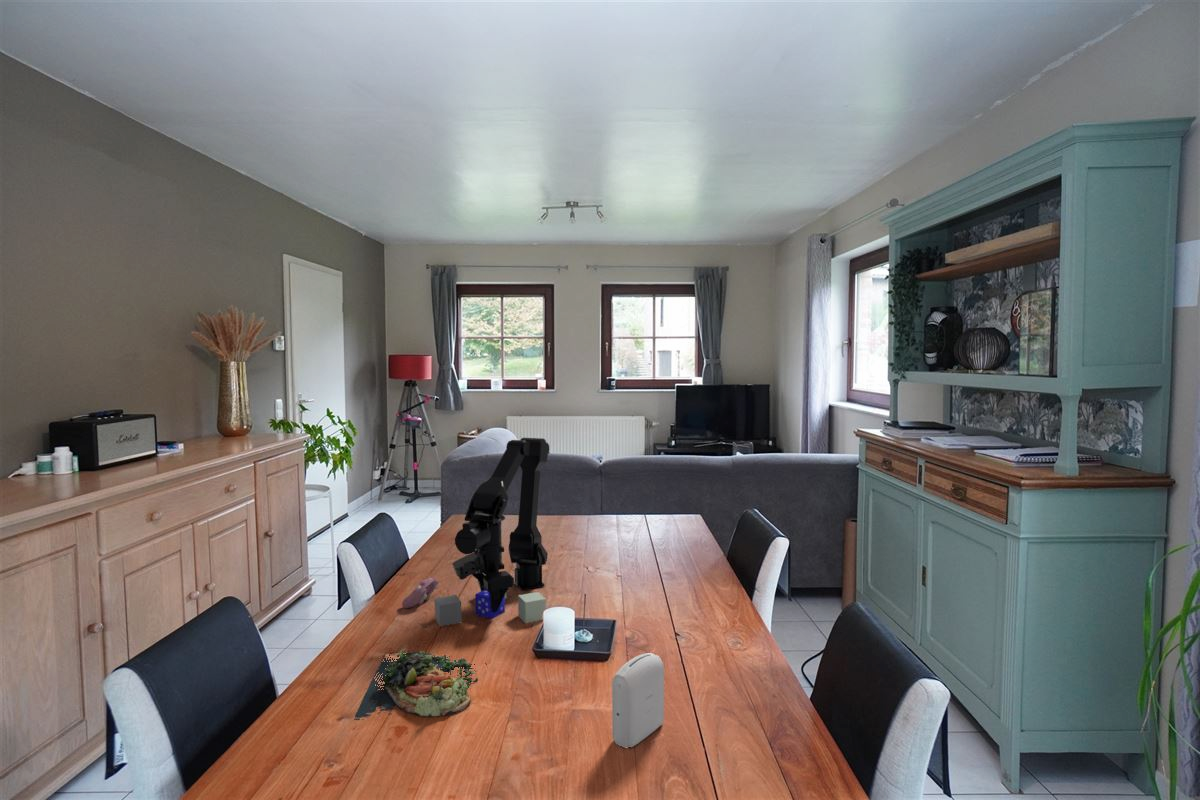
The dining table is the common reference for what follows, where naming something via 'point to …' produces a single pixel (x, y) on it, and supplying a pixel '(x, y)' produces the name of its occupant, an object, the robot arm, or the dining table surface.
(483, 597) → the die
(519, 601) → the sage green block
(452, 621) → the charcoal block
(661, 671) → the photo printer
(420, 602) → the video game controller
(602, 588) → the dining table surface
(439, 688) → the plated dish
